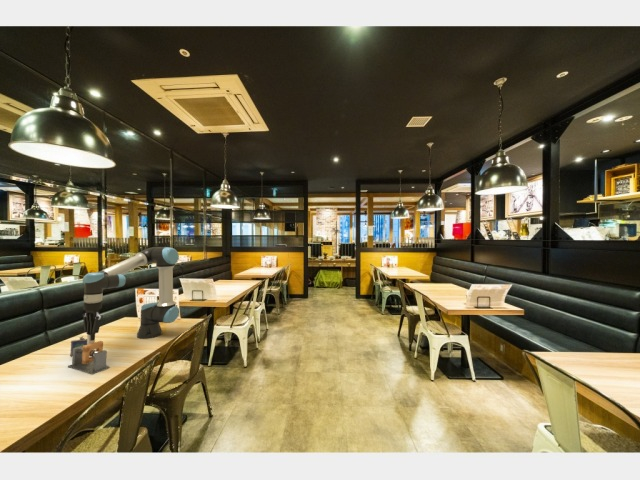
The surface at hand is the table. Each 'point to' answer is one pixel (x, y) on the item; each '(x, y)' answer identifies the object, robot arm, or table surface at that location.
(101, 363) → the pipe rail
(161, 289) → the robot arm
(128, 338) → the table surface
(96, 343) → the orange square ring
